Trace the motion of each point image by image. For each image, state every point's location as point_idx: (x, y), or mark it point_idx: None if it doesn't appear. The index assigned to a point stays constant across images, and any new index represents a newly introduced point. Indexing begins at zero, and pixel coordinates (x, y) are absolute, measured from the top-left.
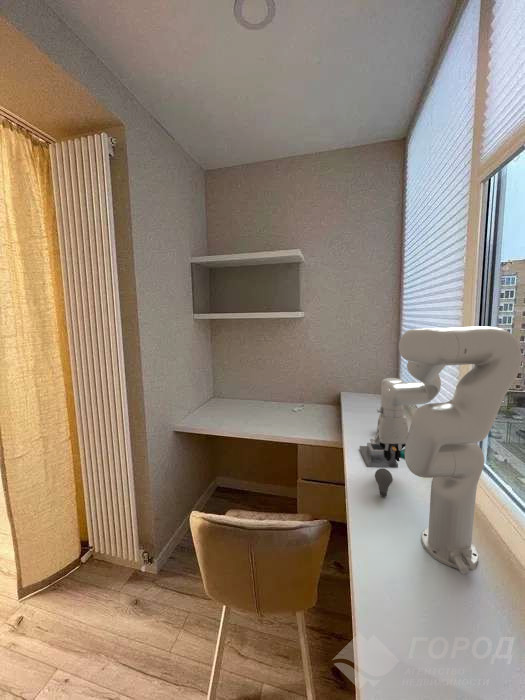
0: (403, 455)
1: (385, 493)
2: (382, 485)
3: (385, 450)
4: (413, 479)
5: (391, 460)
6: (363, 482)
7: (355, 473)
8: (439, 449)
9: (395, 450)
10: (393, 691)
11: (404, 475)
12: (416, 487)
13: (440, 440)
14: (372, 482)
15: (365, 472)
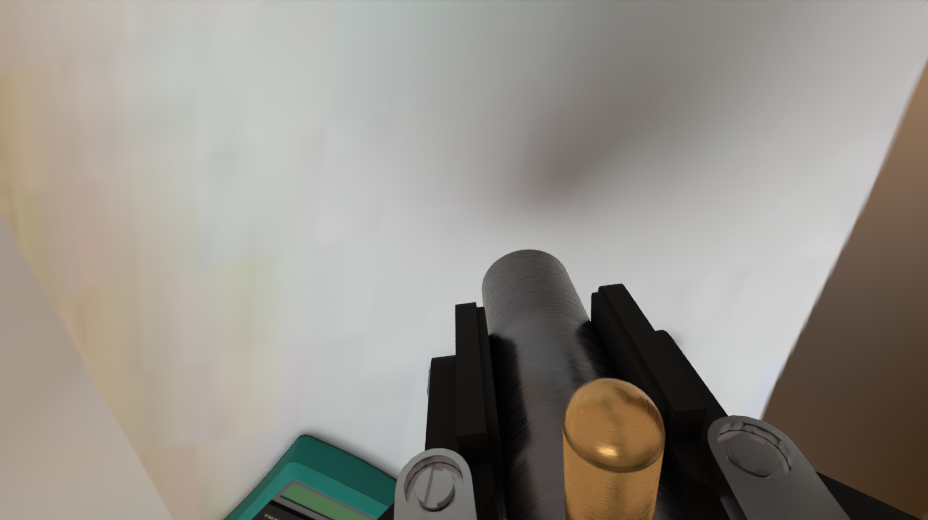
0: (371, 488)
1: None
2: None
3: (754, 420)
4: (333, 244)
5: (562, 301)
6: (784, 112)
7: (799, 237)
8: None
9: (614, 394)
10: None
11: (397, 283)
12: (320, 132)
13: None
14: (697, 130)
15: (705, 266)
